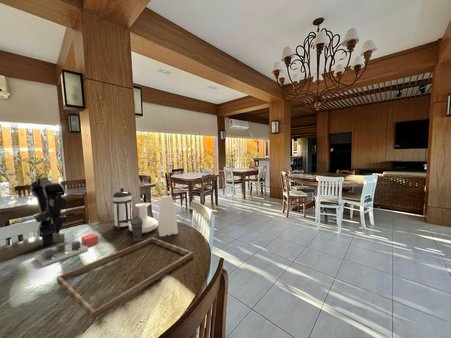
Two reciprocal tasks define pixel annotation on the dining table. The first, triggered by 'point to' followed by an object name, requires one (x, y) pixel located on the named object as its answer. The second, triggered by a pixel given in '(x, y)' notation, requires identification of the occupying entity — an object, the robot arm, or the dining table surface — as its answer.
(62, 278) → the serving tray rim
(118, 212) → the coffee press
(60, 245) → the grey cube
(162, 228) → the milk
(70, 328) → the dining table surface
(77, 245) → the block
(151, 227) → the candle holder
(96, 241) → the cap
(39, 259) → the panel
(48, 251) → the block
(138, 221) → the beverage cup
